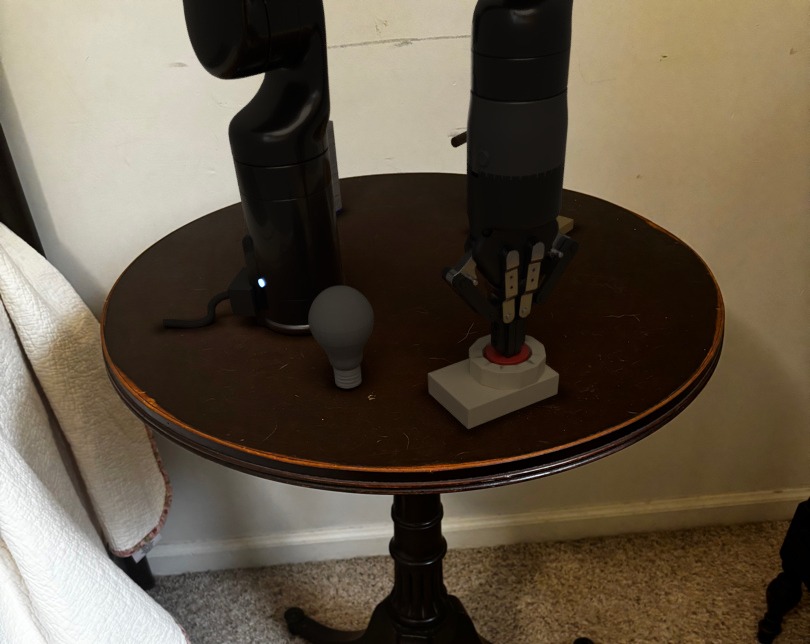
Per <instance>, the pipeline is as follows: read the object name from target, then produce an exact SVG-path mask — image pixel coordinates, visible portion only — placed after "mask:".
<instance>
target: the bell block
mask: <svg viewBox="0 0 810 644" xmlns="http://www.w3.org/2000/svg"><path fill="white" fill-rule="evenodd" d="M525 335H526V337H525V342H524V344H525V345H526V346H527V347H528V349H529V359H528V361H526V362H523V363H520V364H518V365H506V366H501V365H497V364H494V363H490V362H489V361H488V360H487V359H485V350H486V348H487V346H488V345H489V344H491V333H490V334H488V335H484V336H481V337H479V338H477V339H476V340H475V342H474V343H473V344H471V346H470V347H469V348H468V358H466V359H464V360H461V361H458V362H455V363H453V364H449V365H447V366H445V367H441V368H439V369H436V370H433V371H430V372H428V373H427V386H428V387H427V389H428V394H429V395H430V396H431V397H433V398H434V399H435V400H436V402H438V403H439V404H440V405H441V406H442V407H443V408H445V409H446V410H447V411H448V412H449V414H451V415H452V416H453V417H455V419H456V420H457V421H459V422H460V424H462V425H463V426H464V427H465V428H466V429H467V430H470V429H472V428H473V429H474V428H475V427H478V426H480V425H482V424H485V423H488V422H490V421H493V420H495V419H498V418H500V417H503V416H505V415H508V414H510V413H512V412H516V411H518V410H521V409H523V408H526V407H527V406H530V405H533V404H536V403H539V402H540V401H543V400H546V399H548V398H550V397H554V396H555V395H557V394H558V391H559V381H560V374H559V373H558V372H557V371H555V370H554V369H553V368H551V367H550V366H549V365H547V364H546V361H547V354H546V350H545V346H544V344H543V343H541V342H540V341H539V340H537V339H536V338H535V337H533V336H531V335H527V334H525Z"/></svg>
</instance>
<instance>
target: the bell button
mask: <svg viewBox="0 0 810 644" xmlns="http://www.w3.org/2000/svg"><path fill="white" fill-rule="evenodd" d="M485 359H487V360H488V361H489V362H490V363H494V364H497V365H501V366H506V365H518V364H520V363H523V362H526V361H528V359H529V349H528V347H527V346H526V345H525V344H524V345H523V346H521V353H519V354H516V355H514V356H511V357H508V358H505V357H504V356H502V355H501V354H500V353H499V352H497V351H496V350H495V349H494V348H493V347H492V345H491V344H489V345H488V346H487V348H486V350H485Z"/></svg>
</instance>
